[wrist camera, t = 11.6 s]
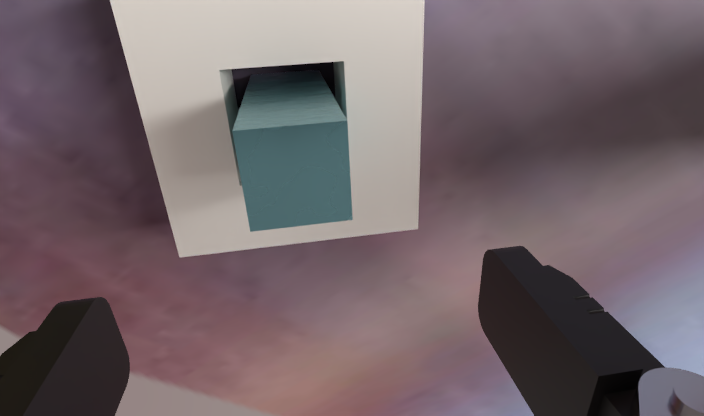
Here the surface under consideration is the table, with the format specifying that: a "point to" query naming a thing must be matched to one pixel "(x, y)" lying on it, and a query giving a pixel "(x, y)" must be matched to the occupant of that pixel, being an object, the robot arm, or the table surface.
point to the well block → (221, 106)
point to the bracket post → (292, 152)
